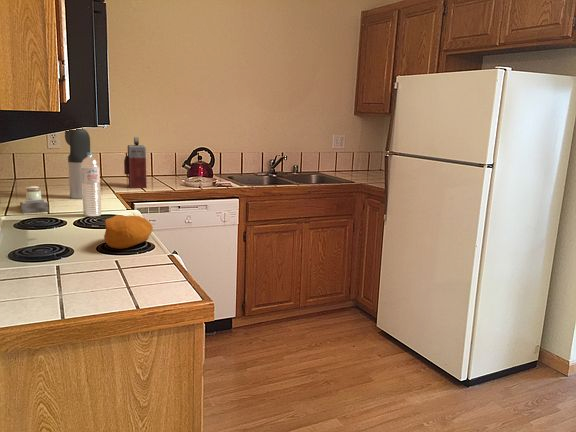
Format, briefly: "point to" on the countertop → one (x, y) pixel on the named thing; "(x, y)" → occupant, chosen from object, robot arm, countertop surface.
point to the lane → (34, 207)
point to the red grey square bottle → (136, 165)
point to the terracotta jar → (30, 187)
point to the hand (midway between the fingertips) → (8, 136)
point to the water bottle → (91, 186)
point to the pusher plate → (34, 201)
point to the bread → (126, 231)
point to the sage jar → (33, 194)
